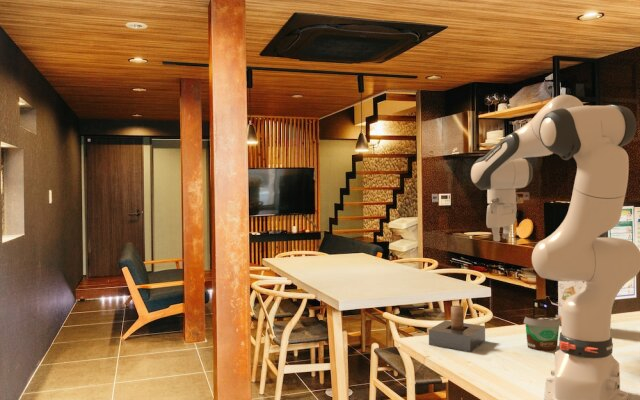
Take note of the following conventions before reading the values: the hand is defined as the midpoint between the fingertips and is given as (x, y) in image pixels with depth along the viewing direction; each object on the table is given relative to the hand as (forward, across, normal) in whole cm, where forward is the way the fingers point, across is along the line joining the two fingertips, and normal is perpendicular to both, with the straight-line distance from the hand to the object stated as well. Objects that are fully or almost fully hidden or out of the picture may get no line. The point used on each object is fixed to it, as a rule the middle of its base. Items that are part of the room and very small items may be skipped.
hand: (501, 239), depth 175 cm
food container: (+34, 0, -14) cm, 37 cm away
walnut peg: (+34, -9, +12) cm, 37 cm away
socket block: (+34, -9, +12) cm, 37 cm away
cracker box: (+34, +30, -18) cm, 49 cm away
